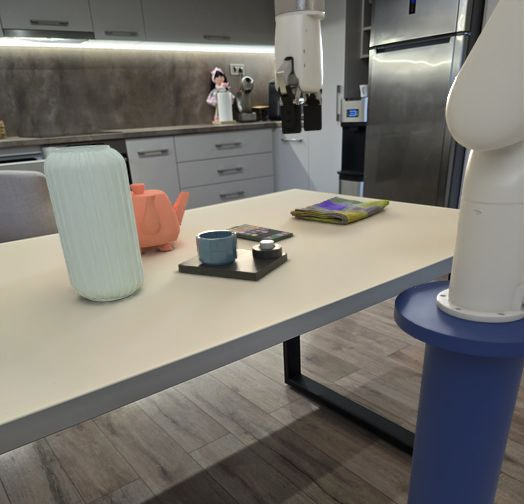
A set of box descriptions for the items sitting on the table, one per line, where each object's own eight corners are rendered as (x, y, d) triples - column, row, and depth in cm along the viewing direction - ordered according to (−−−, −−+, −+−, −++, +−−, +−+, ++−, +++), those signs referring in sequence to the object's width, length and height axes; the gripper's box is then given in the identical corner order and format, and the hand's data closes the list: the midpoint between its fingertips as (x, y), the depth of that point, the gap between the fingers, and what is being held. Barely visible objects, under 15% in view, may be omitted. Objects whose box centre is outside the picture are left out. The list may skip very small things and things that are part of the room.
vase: (125, 278, 86) (100, 143, 76) (159, 291, 78) (137, 144, 68) (62, 295, 79) (26, 149, 69) (93, 312, 72) (58, 151, 62)
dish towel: (392, 209, 131) (393, 198, 130) (344, 226, 115) (344, 214, 114) (338, 204, 142) (338, 194, 140) (287, 219, 125) (286, 208, 124)
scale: (287, 259, 92) (287, 244, 90) (256, 280, 81) (255, 263, 80) (216, 253, 98) (215, 238, 97) (178, 272, 88) (176, 256, 86)
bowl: (244, 257, 90) (243, 231, 87) (225, 267, 84) (223, 240, 82) (212, 254, 93) (209, 229, 90) (191, 264, 87) (188, 238, 85)
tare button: (276, 247, 90) (275, 240, 89) (270, 250, 88) (269, 243, 87) (263, 246, 91) (263, 239, 90) (257, 249, 89) (257, 242, 88)
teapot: (196, 239, 109) (189, 177, 103) (163, 261, 95) (152, 190, 89) (134, 238, 114) (124, 179, 108) (93, 258, 99) (78, 191, 93)
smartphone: (269, 243, 103) (269, 237, 103) (221, 235, 113) (221, 230, 112) (293, 236, 109) (293, 230, 108) (245, 228, 118) (245, 223, 117)
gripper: (297, 20, 81) (300, 130, 89) (252, 3, 67) (260, 136, 75) (340, 13, 78) (339, 128, 85) (302, -7, 64) (305, 133, 72)
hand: (302, 132), depth 80 cm, fingers open, 9 cm apart
